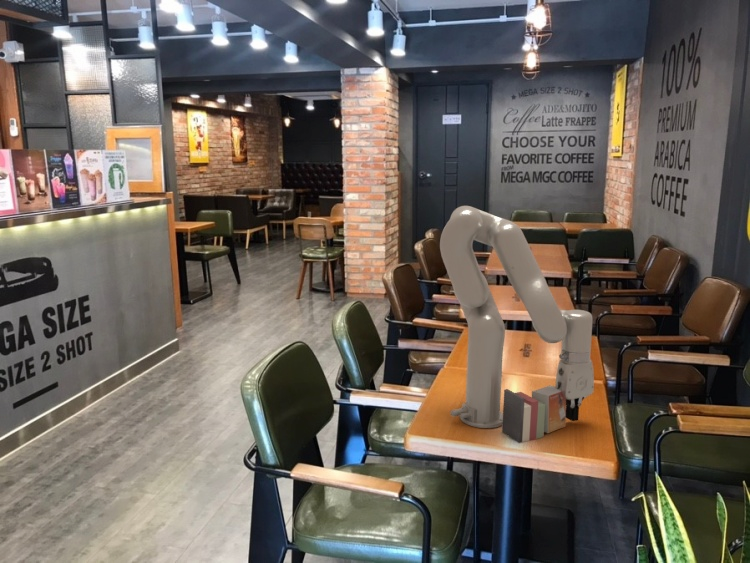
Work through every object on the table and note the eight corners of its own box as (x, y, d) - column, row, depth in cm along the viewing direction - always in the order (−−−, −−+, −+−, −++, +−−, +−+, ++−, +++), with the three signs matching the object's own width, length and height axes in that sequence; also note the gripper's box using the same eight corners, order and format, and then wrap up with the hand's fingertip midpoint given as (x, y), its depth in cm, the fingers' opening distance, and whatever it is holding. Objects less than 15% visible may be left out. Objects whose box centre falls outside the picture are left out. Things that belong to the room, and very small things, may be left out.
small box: (548, 434, 154) (548, 396, 153) (530, 428, 158) (531, 390, 157) (566, 426, 159) (566, 389, 157) (549, 420, 163) (549, 384, 162)
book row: (519, 442, 150) (521, 398, 148) (502, 432, 156) (504, 389, 154) (543, 437, 153) (546, 393, 151) (525, 426, 159) (528, 385, 157)
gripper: (564, 363, 151) (560, 429, 155) (606, 355, 158) (602, 419, 161) (544, 355, 158) (541, 419, 161) (585, 348, 164) (582, 409, 168)
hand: (571, 419), depth 161 cm, fingers closed
